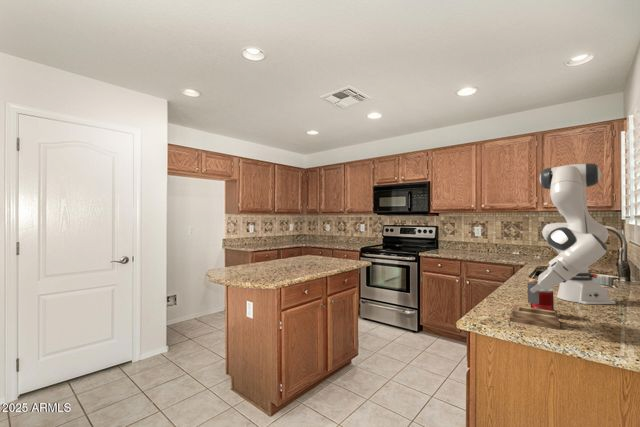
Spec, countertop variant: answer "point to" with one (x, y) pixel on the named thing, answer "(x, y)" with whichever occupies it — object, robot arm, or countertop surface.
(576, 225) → the robot arm
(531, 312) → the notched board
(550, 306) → the canned food
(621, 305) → the countertop surface
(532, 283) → the block with orange ball
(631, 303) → the countertop surface
